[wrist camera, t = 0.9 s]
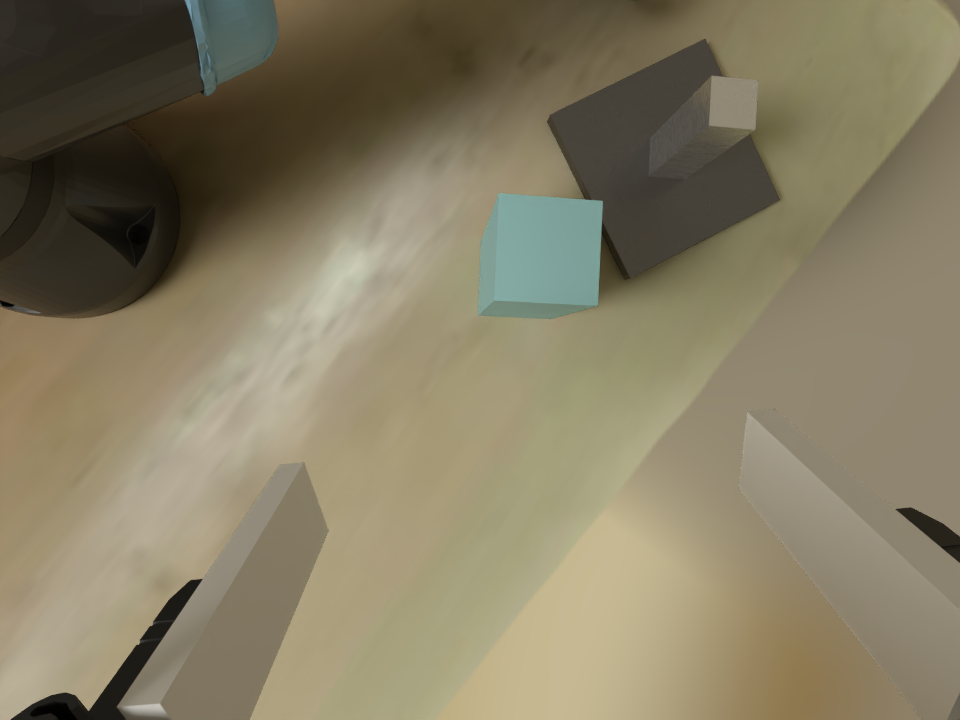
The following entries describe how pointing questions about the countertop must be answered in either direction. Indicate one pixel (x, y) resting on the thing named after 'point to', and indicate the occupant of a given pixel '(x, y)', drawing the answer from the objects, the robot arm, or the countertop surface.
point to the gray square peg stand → (666, 156)
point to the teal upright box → (540, 257)
